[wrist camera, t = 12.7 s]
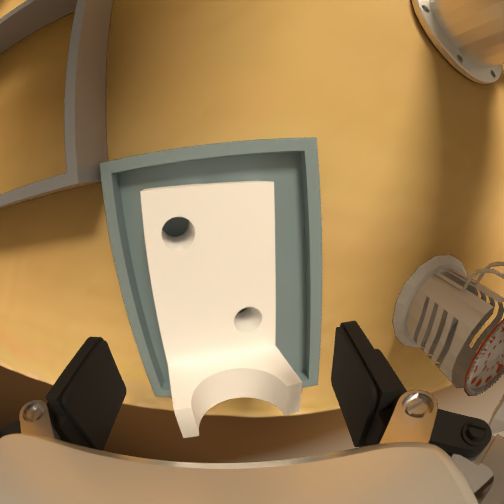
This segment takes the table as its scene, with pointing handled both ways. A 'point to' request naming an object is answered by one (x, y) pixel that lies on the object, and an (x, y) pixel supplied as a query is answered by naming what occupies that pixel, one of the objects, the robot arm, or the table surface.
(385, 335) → the table surface
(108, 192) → the tray
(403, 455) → the robot arm
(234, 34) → the table surface
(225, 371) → the bracket
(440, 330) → the french press
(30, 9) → the bin
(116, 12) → the table surface
